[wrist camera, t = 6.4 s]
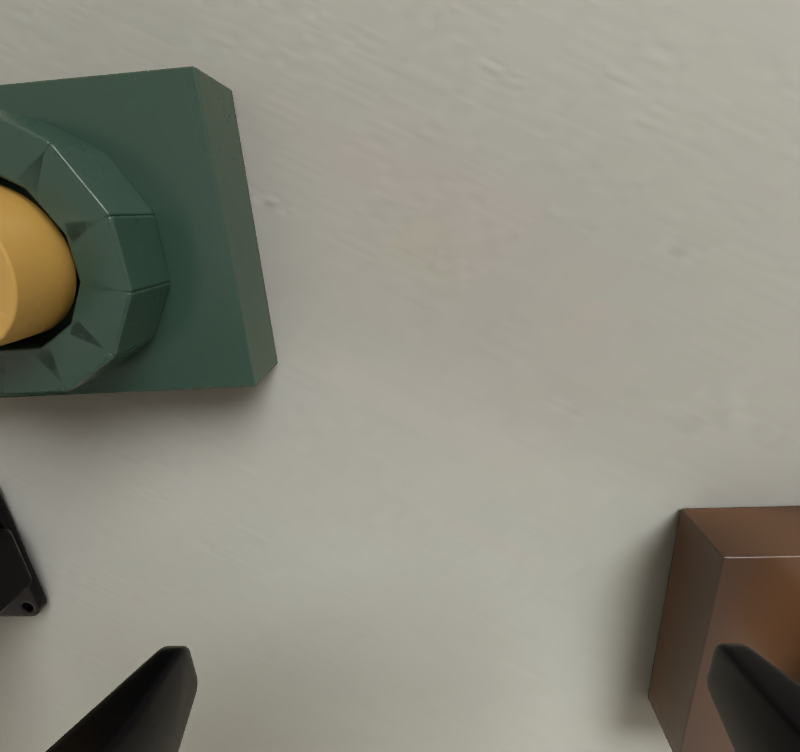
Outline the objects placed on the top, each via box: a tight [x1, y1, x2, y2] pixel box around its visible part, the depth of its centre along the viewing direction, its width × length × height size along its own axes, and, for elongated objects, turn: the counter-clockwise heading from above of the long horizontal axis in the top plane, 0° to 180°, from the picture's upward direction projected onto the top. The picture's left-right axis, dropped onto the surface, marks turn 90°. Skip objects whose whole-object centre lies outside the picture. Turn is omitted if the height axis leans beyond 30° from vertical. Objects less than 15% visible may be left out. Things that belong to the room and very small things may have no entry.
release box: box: [0, 66, 277, 398], centre depth 12 cm, size 10×8×4 cm
